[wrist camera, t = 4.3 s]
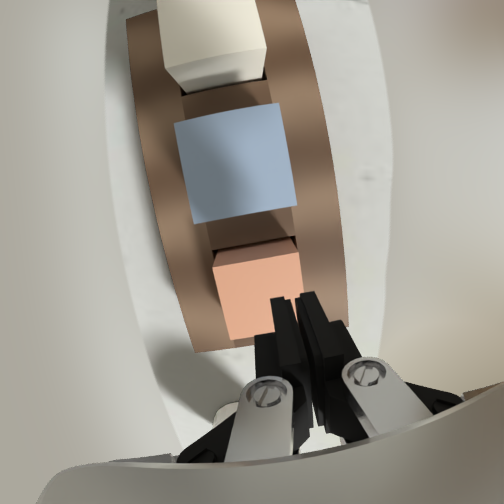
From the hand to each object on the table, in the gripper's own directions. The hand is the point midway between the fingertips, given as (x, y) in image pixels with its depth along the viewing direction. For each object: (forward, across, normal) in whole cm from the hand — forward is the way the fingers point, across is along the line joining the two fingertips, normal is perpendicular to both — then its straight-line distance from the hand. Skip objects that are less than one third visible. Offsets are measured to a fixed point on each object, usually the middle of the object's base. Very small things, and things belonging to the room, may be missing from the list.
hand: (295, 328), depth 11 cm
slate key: (+11, +1, -6) cm, 12 cm away
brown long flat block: (+14, +1, -6) cm, 16 cm away
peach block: (+12, +1, +2) cm, 13 cm away
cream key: (+11, +1, -14) cm, 18 cm away
